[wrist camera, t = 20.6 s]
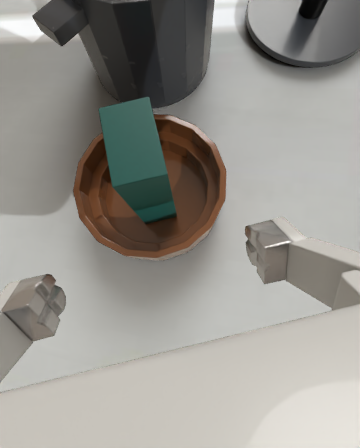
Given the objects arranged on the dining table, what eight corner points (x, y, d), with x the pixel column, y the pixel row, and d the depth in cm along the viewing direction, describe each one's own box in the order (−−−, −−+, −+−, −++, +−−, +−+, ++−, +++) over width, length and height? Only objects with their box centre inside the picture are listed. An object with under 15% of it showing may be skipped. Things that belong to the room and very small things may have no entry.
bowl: (133, 124, 23) (121, 94, 19) (239, 170, 22) (250, 147, 18) (71, 225, 21) (45, 214, 17) (184, 283, 20) (183, 286, 16)
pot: (57, 82, 25) (-21, -30, 16) (165, -12, 27) (152, -159, 18) (136, 147, 23) (100, 61, 13) (246, 38, 25) (279, -99, 16)
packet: (165, 168, 22) (148, 95, 13) (177, 216, 20) (167, 174, 12) (135, 175, 22) (97, 107, 13) (145, 224, 20) (111, 187, 12)
